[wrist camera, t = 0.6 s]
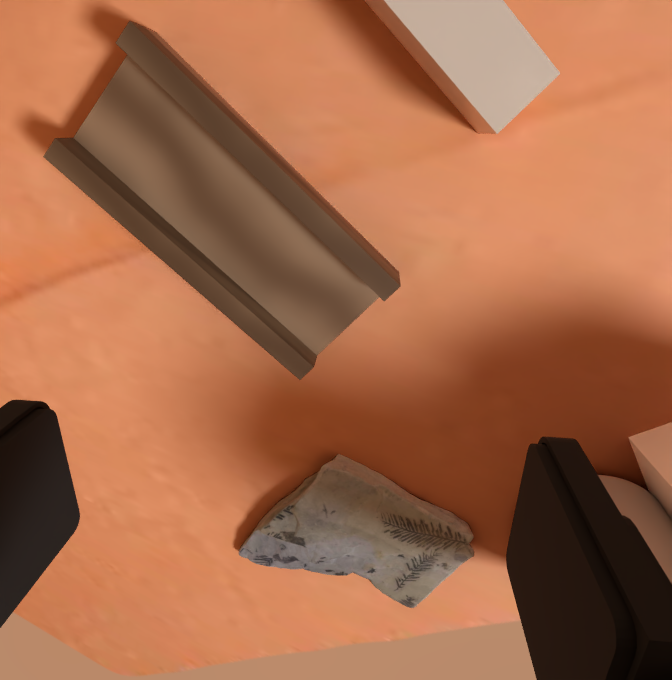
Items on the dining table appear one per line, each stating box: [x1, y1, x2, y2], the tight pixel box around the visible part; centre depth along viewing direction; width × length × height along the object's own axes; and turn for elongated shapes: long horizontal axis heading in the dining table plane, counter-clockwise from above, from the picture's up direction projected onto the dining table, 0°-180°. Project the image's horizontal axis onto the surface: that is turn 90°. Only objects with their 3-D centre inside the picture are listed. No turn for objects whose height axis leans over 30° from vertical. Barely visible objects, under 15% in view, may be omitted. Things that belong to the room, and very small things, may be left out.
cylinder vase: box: [598, 475, 672, 583], centre depth 31 cm, size 12×12×25 cm
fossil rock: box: [239, 454, 474, 608], centre depth 45 cm, size 18×15×2 cm
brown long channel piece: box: [43, 21, 400, 380], centre depth 34 cm, size 10×22×4 cm, turn 46°
